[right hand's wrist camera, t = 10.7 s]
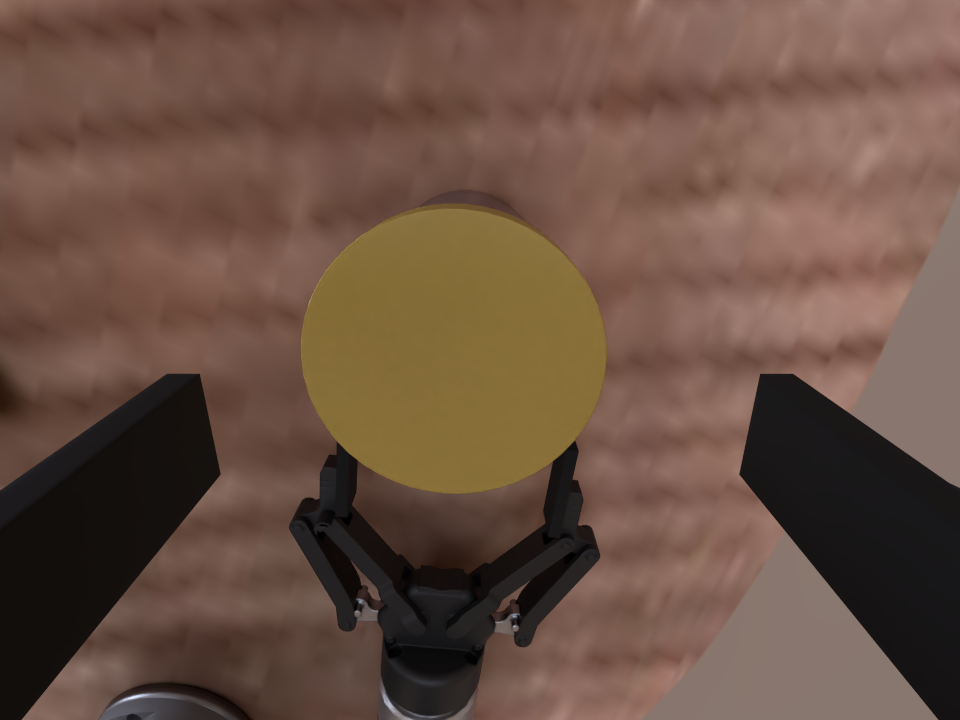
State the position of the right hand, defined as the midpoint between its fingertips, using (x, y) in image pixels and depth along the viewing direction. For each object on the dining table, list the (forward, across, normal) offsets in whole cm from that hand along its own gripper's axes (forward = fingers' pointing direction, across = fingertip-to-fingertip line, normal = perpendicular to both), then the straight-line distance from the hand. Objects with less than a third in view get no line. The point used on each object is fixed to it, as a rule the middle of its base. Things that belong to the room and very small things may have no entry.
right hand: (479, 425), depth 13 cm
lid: (+6, +1, +1) cm, 7 cm away
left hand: (+18, +1, +10) cm, 20 cm away
